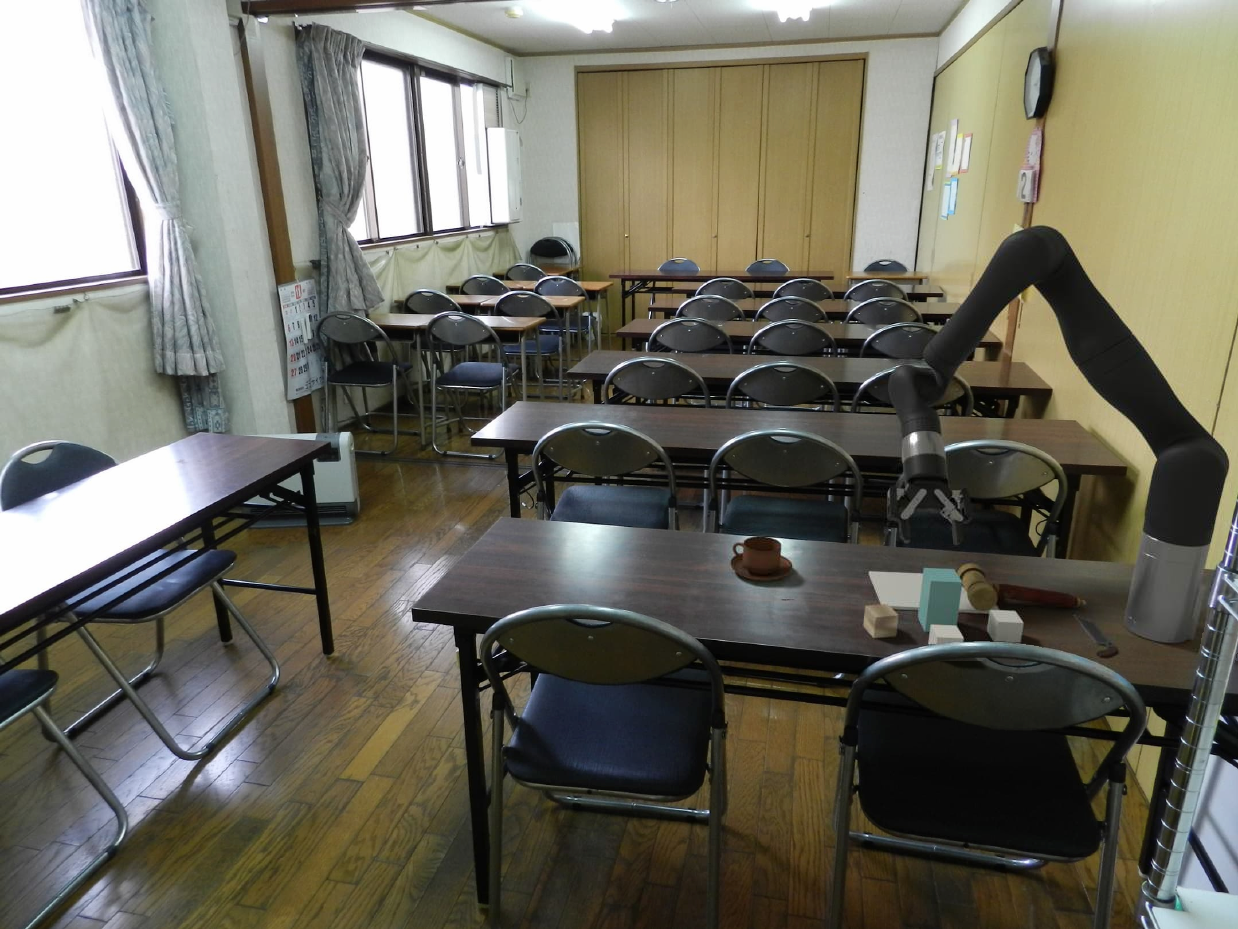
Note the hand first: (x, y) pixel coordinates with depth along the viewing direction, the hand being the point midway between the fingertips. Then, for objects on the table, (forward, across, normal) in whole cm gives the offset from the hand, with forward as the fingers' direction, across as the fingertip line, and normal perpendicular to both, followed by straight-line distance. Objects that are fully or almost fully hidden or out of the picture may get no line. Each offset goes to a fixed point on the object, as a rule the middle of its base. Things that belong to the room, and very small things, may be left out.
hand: (932, 542), depth 141 cm
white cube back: (+20, -1, -4) cm, 21 cm away
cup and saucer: (+2, -29, +16) cm, 33 cm away
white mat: (+6, +2, +11) cm, 13 cm away
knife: (+15, +25, +2) cm, 29 cm away
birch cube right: (+16, -10, +1) cm, 19 cm away
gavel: (+7, +17, +9) cm, 21 cm away
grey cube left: (+16, +10, +1) cm, 19 cm away
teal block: (+14, 0, +3) cm, 14 cm away
